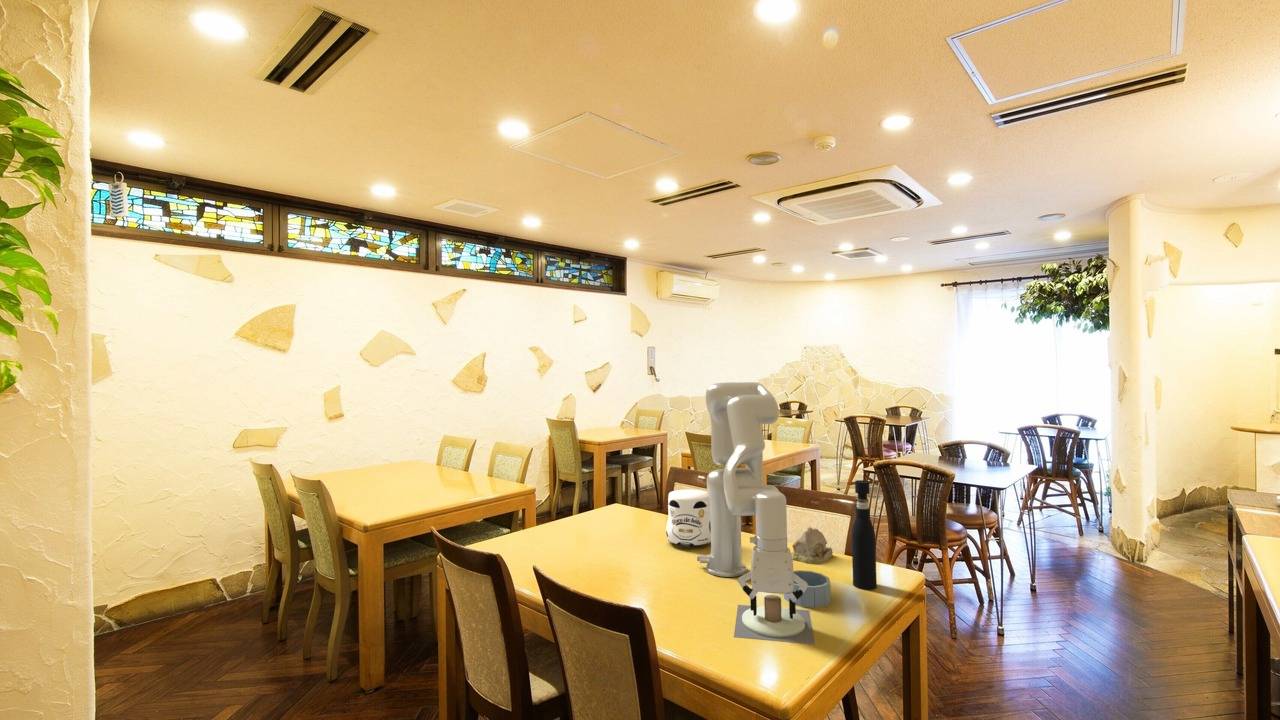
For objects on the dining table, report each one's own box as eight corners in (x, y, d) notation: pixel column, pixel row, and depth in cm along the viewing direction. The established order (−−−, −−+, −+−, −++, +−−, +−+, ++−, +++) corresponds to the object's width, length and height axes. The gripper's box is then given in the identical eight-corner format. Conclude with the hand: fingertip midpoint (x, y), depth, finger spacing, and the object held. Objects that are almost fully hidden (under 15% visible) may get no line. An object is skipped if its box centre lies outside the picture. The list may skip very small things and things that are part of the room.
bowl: (784, 608, 144) (784, 585, 144) (783, 590, 156) (782, 569, 156) (832, 612, 142) (832, 588, 142) (827, 593, 153) (827, 572, 153)
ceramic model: (810, 566, 175) (809, 535, 175) (783, 557, 184) (782, 527, 184) (838, 558, 183) (837, 527, 183) (811, 549, 192) (810, 520, 192)
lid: (740, 634, 129) (740, 608, 129) (743, 607, 143) (742, 584, 143) (807, 640, 125) (806, 614, 125) (803, 612, 140) (802, 588, 140)
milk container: (678, 553, 189) (677, 501, 189) (658, 539, 205) (658, 491, 206) (722, 547, 195) (721, 496, 196) (700, 534, 211) (699, 487, 212)
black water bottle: (848, 581, 161) (846, 479, 162) (869, 580, 162) (867, 479, 163) (859, 590, 155) (856, 484, 156) (881, 589, 156) (878, 483, 156)
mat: (733, 640, 128) (733, 636, 128) (737, 607, 145) (737, 604, 145) (814, 647, 123) (814, 644, 123) (808, 613, 141) (808, 610, 141)
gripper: (734, 545, 133) (736, 618, 133) (809, 550, 129) (811, 625, 129) (736, 536, 140) (737, 605, 140) (807, 540, 136) (808, 611, 136)
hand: (773, 614), depth 134 cm, fingers open, 8 cm apart
